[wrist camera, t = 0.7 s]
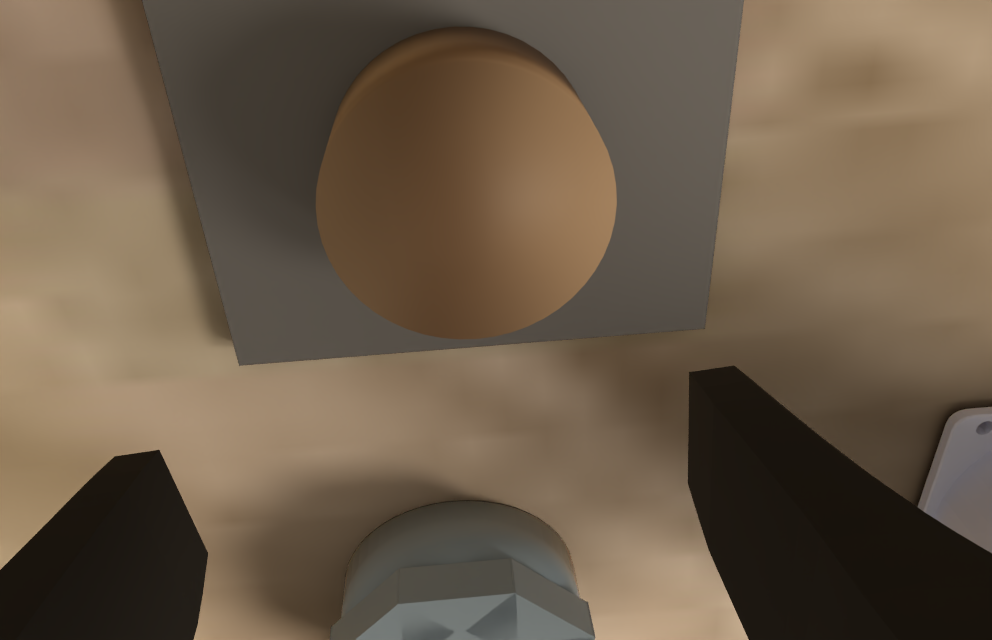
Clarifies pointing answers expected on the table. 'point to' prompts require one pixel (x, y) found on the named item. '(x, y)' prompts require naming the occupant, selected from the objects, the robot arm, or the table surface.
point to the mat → (313, 108)
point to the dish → (463, 579)
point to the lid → (464, 186)
